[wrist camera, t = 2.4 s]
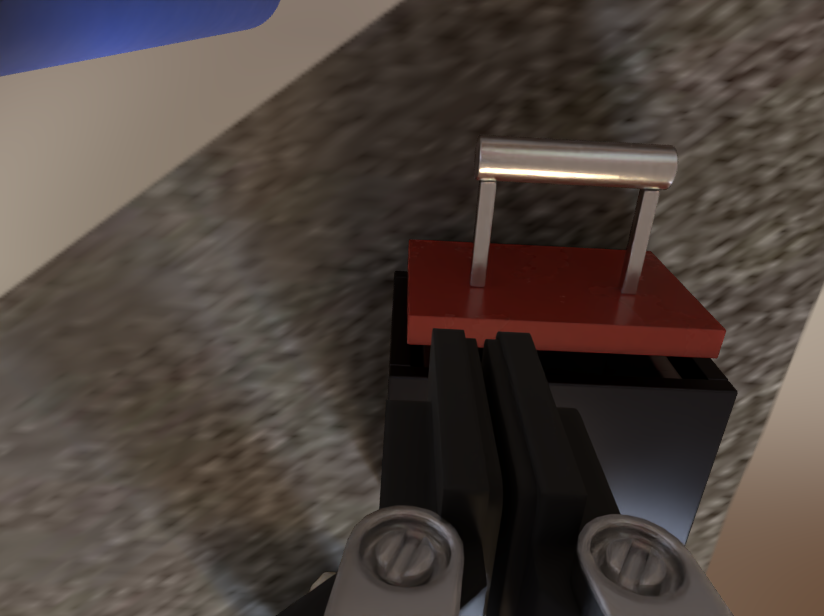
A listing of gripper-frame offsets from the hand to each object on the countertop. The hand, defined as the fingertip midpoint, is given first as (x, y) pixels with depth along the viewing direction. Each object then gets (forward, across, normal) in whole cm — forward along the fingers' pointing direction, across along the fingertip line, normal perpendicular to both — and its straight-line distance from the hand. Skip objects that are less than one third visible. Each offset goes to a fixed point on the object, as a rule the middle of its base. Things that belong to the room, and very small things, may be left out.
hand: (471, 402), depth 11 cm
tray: (+18, -5, +7) cm, 20 cm away
